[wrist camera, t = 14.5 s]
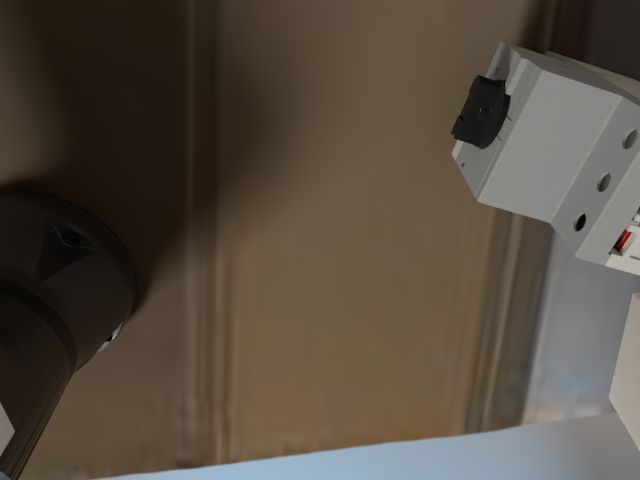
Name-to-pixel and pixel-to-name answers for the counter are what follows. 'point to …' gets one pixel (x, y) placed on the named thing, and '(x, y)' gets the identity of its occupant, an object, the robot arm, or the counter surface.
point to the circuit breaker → (557, 150)
